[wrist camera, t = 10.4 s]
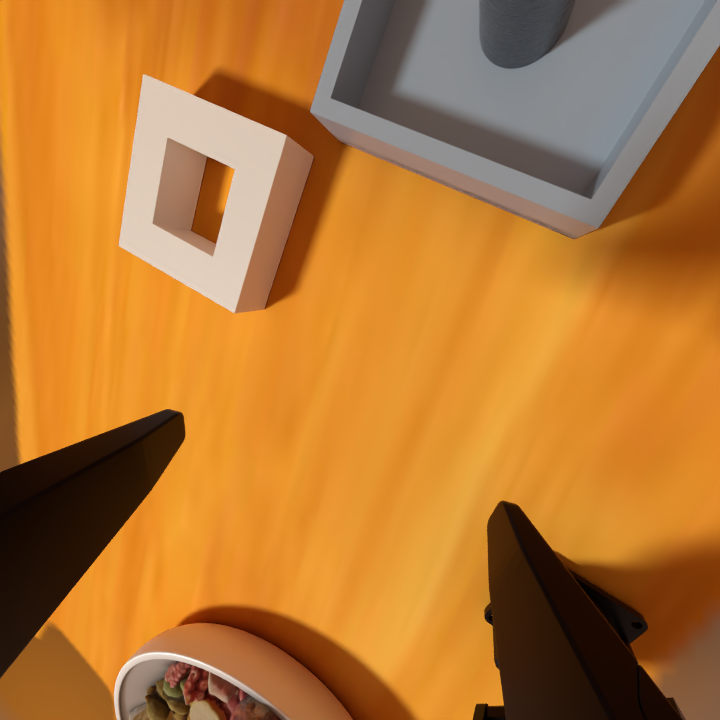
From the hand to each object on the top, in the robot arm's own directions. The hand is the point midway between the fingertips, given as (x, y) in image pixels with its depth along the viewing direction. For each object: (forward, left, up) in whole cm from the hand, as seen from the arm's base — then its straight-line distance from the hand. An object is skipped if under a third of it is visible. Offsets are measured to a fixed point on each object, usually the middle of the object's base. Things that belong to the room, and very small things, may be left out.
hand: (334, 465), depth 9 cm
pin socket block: (+16, -3, -12) cm, 20 cm away
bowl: (-4, +43, -12) cm, 45 cm away
